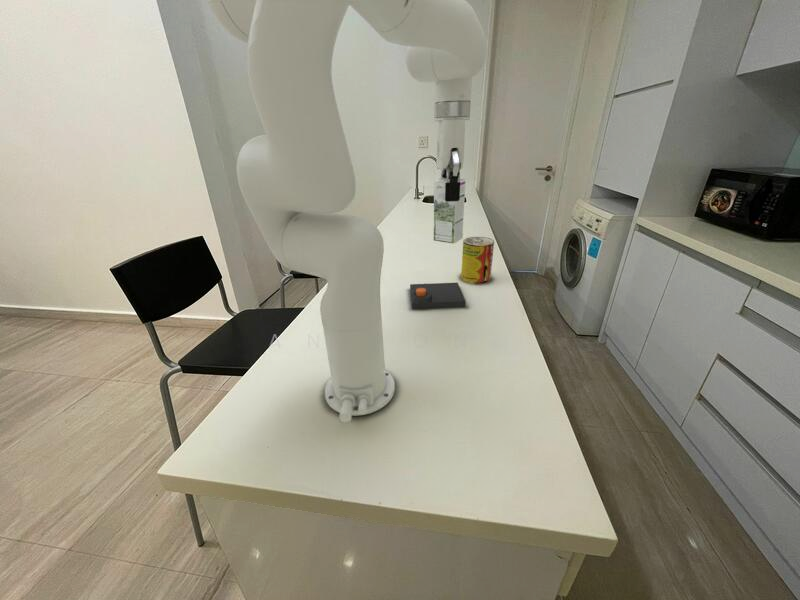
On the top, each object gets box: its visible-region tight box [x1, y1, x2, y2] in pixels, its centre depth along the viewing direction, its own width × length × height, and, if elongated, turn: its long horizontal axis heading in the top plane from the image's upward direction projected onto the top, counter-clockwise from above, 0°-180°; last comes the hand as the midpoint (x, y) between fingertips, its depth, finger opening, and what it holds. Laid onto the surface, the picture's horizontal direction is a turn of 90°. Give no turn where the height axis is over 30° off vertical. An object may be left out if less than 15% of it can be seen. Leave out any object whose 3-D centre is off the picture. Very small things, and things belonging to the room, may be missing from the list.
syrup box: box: [433, 177, 467, 244], centre depth 80 cm, size 6×6×14 cm
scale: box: [409, 282, 466, 310], centre depth 91 cm, size 13×14×4 cm
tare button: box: [416, 288, 426, 297], centre depth 87 cm, size 3×3×2 cm
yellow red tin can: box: [460, 236, 495, 285], centre depth 101 cm, size 9×9×12 cm
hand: (449, 197), depth 78 cm, fingers closed on syrup box, 7 cm apart
